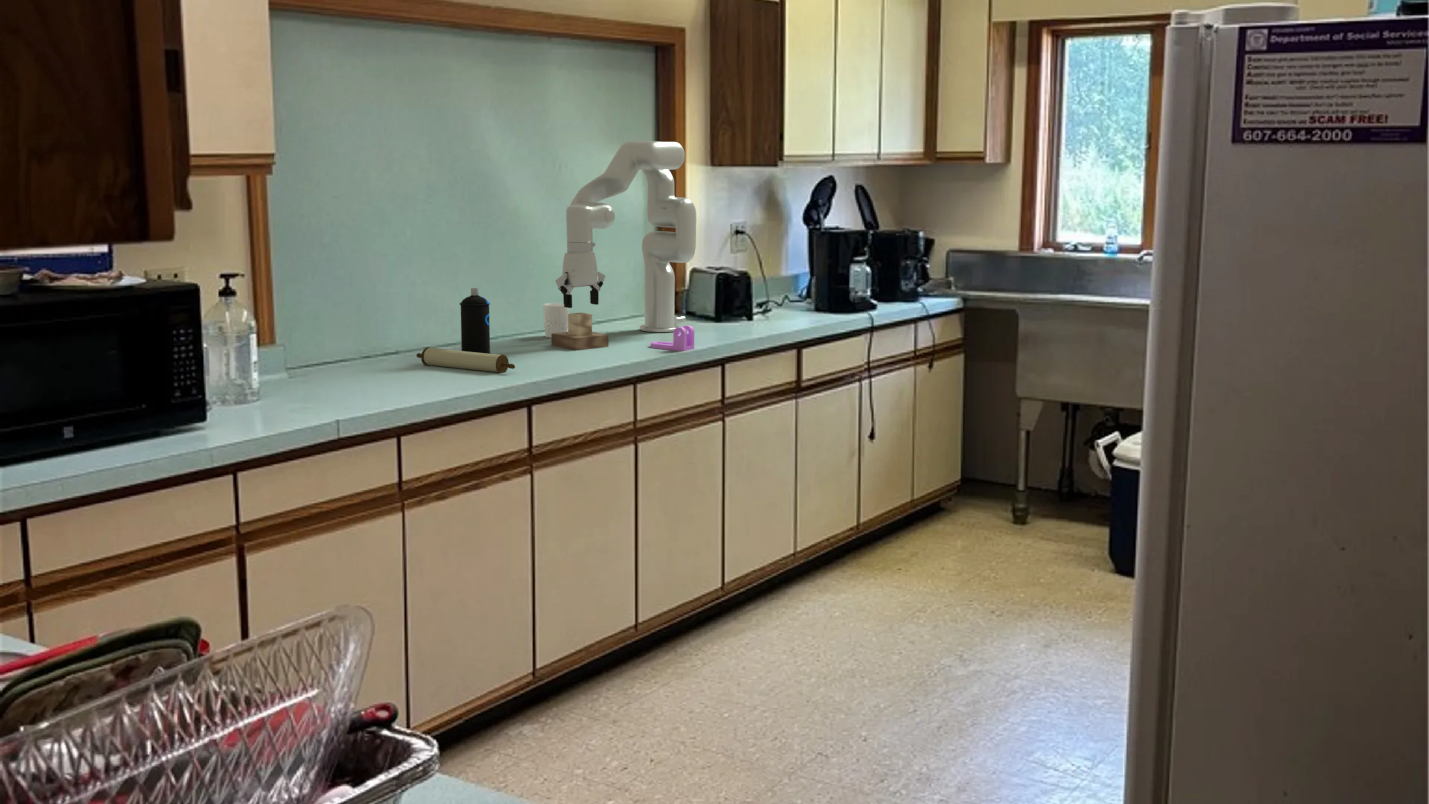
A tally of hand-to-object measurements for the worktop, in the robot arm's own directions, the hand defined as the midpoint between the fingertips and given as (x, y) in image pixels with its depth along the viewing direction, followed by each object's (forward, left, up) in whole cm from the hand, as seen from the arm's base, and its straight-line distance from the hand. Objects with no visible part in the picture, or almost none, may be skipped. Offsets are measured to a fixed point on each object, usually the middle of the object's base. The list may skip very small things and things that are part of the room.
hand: (581, 305), depth 404 cm
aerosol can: (+40, +5, -12) cm, 42 cm away
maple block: (+1, 0, -8) cm, 8 cm away
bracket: (-18, +19, -12) cm, 29 cm away
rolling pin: (+49, +14, -12) cm, 53 cm away
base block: (+1, 0, -12) cm, 12 cm away
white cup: (-5, -20, -12) cm, 24 cm away
